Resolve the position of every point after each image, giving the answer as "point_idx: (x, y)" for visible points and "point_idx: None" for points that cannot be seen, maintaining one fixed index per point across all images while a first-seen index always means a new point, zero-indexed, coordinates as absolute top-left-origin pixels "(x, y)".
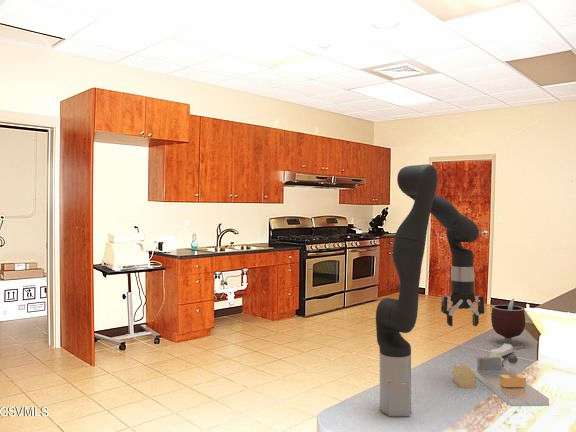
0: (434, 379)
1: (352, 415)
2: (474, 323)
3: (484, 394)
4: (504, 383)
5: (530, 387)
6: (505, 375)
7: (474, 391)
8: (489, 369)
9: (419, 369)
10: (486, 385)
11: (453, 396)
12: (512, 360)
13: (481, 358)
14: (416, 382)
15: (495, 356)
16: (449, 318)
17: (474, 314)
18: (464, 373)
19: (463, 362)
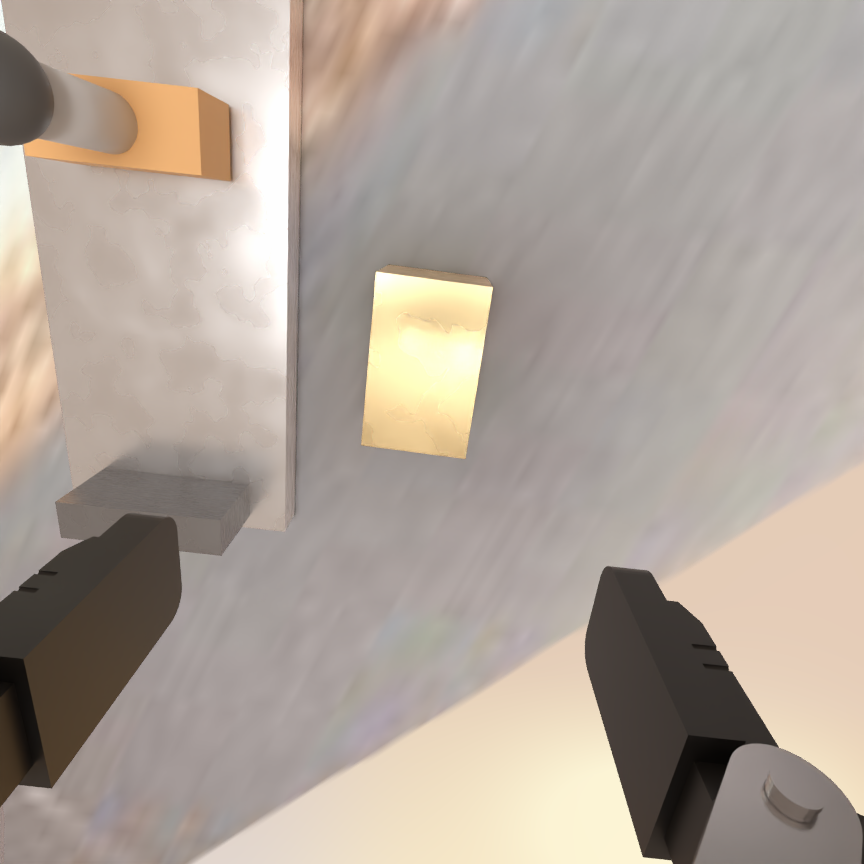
0: (573, 443)
1: None
2: (150, 562)
3: (385, 133)
4: (215, 99)
5: None
6: (161, 154)
7: (426, 200)
8: (181, 477)
9: (572, 607)
10: (297, 289)
11: (619, 123)
12: (7, 35)
13: (199, 529)
14: (716, 410)
15: None
16: (719, 699)
17: (4, 736)
18: (459, 285)
19: (261, 670)
